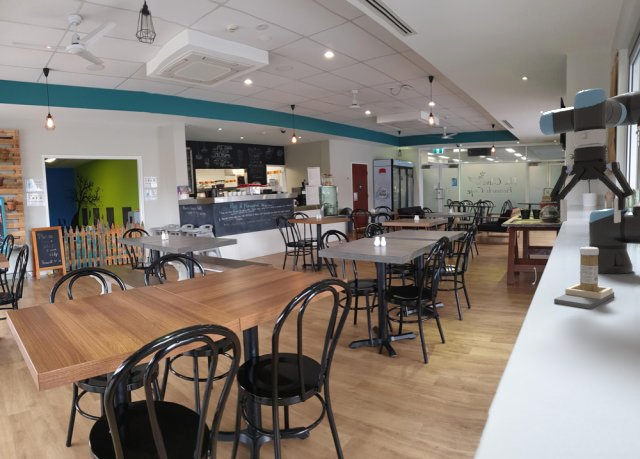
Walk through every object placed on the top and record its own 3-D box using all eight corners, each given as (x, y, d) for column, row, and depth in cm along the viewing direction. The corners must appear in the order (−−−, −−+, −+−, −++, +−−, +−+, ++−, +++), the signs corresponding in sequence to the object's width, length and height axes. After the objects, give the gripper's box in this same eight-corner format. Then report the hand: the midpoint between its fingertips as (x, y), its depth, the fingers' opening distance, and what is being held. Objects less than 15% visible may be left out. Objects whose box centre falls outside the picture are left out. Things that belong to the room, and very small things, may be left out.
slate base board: (579, 291, 128) (579, 282, 128) (614, 296, 121) (614, 287, 121) (554, 303, 117) (554, 293, 117) (590, 309, 110) (590, 298, 110)
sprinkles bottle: (587, 290, 124) (587, 246, 123) (602, 294, 120) (602, 247, 118) (575, 292, 122) (575, 247, 121) (590, 296, 118) (590, 249, 117)
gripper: (537, 151, 125) (538, 222, 127) (639, 140, 105) (638, 224, 107) (548, 151, 129) (549, 219, 131) (648, 141, 110) (647, 221, 112)
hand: (589, 221), depth 119 cm, fingers open, 13 cm apart
